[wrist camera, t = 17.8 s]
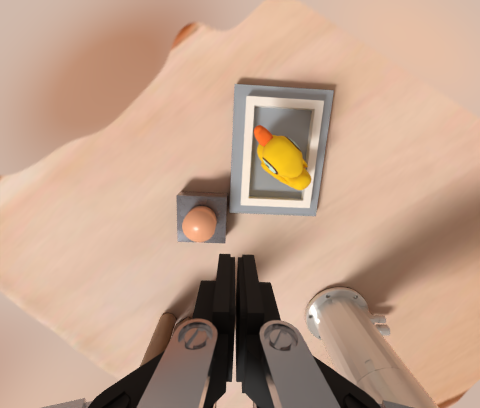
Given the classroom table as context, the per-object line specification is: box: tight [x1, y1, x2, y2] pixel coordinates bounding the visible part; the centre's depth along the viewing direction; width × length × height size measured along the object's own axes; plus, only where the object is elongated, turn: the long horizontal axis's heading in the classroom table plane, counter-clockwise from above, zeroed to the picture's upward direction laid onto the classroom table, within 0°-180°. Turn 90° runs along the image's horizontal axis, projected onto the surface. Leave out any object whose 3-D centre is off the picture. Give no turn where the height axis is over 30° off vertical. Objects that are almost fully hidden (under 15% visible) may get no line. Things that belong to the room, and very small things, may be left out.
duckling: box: [254, 125, 311, 190], centre depth 32 cm, size 11×5×10 cm, turn 45°
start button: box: [182, 206, 217, 242], centre depth 36 cm, size 5×5×3 cm
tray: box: [229, 84, 334, 216], centre depth 37 cm, size 15×20×3 cm
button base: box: [177, 192, 227, 243], centre depth 39 cm, size 8×8×3 cm
